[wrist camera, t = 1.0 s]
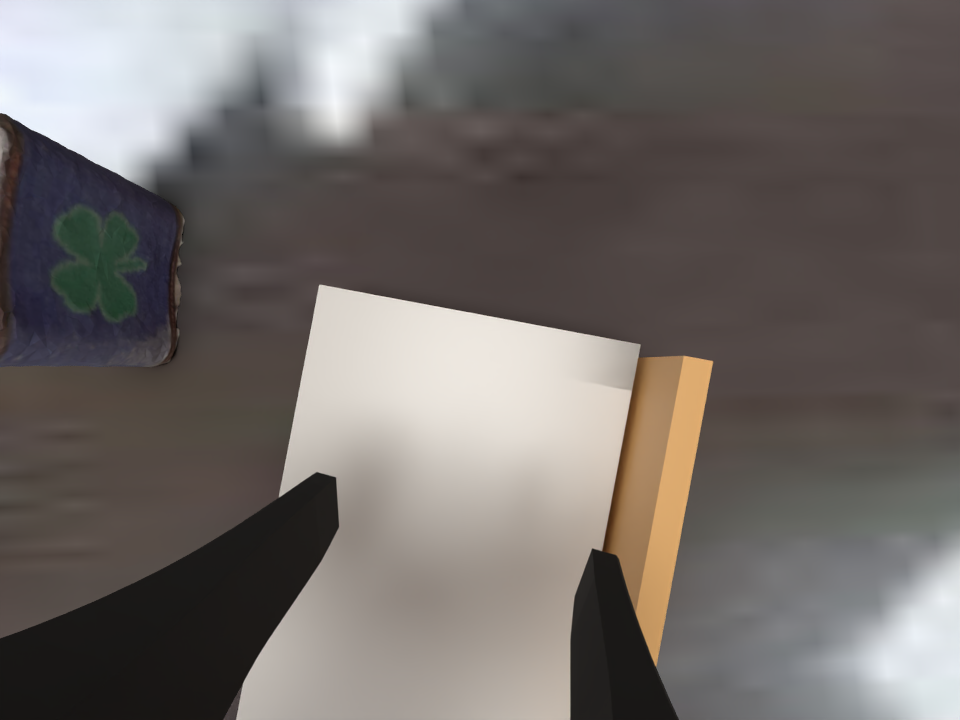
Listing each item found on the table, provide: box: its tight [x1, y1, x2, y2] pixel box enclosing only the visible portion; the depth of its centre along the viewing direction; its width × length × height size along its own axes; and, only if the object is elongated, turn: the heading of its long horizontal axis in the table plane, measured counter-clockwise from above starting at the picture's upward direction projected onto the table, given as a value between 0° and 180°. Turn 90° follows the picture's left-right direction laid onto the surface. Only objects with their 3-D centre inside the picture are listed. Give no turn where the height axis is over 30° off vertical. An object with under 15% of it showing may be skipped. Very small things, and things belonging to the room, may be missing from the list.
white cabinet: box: [236, 285, 640, 720], centre depth 21 cm, size 20×14×5 cm
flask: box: [0, 113, 185, 367], centre depth 19 cm, size 9×3×11 cm, turn 177°
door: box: [602, 356, 713, 666], centre depth 19 cm, size 19×1×8 cm, turn 169°
